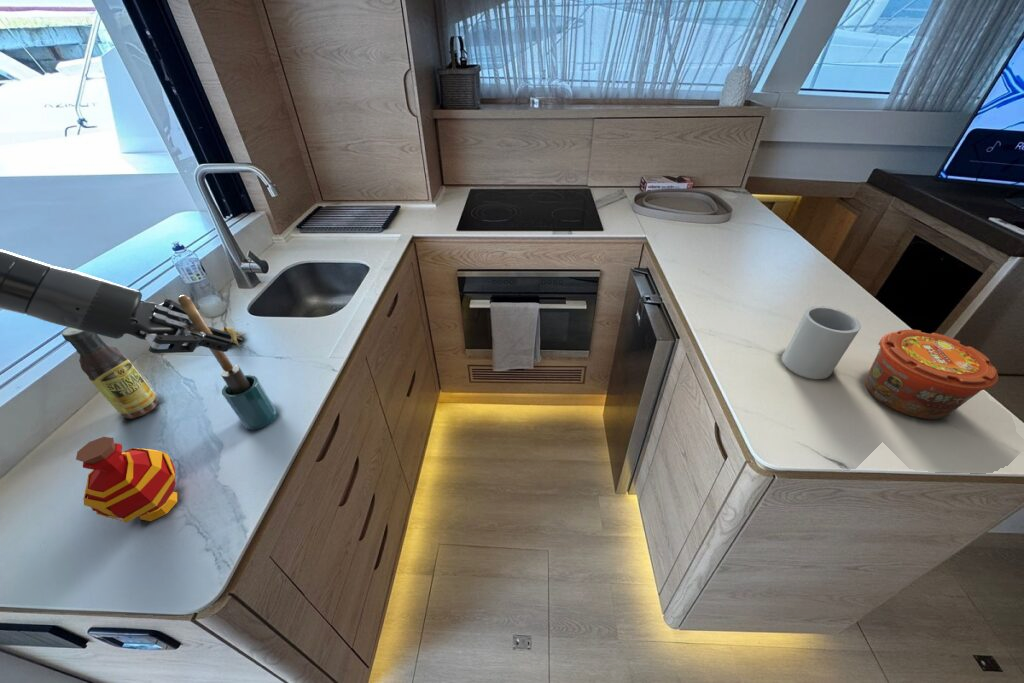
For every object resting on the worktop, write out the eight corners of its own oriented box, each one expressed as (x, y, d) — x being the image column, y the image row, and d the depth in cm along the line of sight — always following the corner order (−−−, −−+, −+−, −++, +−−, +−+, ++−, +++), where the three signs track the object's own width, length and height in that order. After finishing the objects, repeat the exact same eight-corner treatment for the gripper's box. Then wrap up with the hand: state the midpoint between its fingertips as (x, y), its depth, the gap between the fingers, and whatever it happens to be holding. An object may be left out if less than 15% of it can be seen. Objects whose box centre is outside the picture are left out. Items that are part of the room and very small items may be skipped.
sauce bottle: (138, 423, 77) (63, 344, 65) (115, 416, 79) (38, 338, 66) (169, 399, 82) (105, 322, 70) (147, 394, 84) (81, 317, 71)
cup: (777, 348, 89) (799, 303, 82) (823, 354, 87) (850, 309, 80) (787, 375, 82) (813, 329, 75) (837, 382, 80) (868, 335, 73)
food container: (835, 371, 83) (862, 330, 76) (907, 364, 84) (939, 324, 77) (901, 431, 70) (939, 388, 64) (984, 423, 71) (1031, 380, 64)
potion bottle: (208, 495, 64) (153, 437, 55) (135, 550, 58) (59, 496, 48) (178, 466, 69) (123, 408, 60) (107, 514, 62) (32, 458, 53)
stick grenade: (254, 396, 73) (192, 297, 59) (236, 402, 71) (168, 303, 58) (253, 386, 75) (193, 288, 61) (236, 392, 74) (170, 294, 60)
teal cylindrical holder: (278, 422, 76) (258, 389, 71) (244, 434, 74) (221, 401, 69) (275, 403, 80) (256, 370, 75) (243, 414, 78) (221, 382, 73)
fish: (237, 330, 102) (227, 314, 99) (255, 347, 94) (245, 330, 91) (216, 339, 99) (205, 322, 96) (233, 357, 91) (222, 340, 88)
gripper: (86, 304, 49) (240, 347, 61) (108, 262, 59) (239, 306, 71) (62, 351, 51) (218, 384, 63) (88, 302, 60) (220, 339, 72)
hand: (229, 342), depth 67 cm, fingers closed on stick grenade, 1 cm apart
